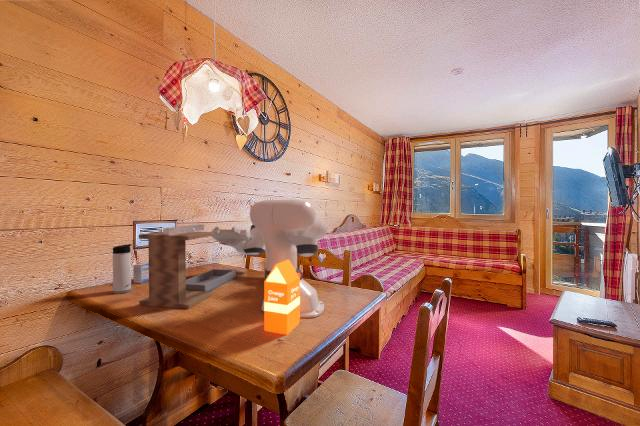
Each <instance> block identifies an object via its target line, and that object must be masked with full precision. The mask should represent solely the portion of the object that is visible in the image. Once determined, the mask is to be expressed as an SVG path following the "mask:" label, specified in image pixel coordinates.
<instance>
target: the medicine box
mask: <svg viewBox="0 0 640 426" xmlns="http://www.w3.org/2000/svg"><path fill="white" fill-rule="evenodd" d="M132 266H133V267H132V268H133V269H132V270H133V284H134V283H135V284H144V283H147V282H149V261H146V262H142V263H138V264H133V265H132Z"/></svg>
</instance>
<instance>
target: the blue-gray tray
mask: <svg viewBox="0 0 640 426" xmlns="http://www.w3.org/2000/svg"><path fill="white" fill-rule="evenodd" d="M236 278H237V270H236V269H224V268H223V269H220V268H218V269H217V268H212V269H210V270H208V271H205V272H202V273H200V274H198V275H197V274H196V275H195V276H192V277H190V278H187V279H186V290H189V291H206V292H213V291H214V290H216V289H218V288H219V287H221V286H223V285H225V284H226V283H228V282H230V281H232V280H234V279H236Z"/></svg>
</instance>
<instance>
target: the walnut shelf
mask: <svg viewBox="0 0 640 426" xmlns="http://www.w3.org/2000/svg"><path fill="white" fill-rule="evenodd" d="M206 237H207V238H208V237H212V231H193V232H186V233H179V234H172V235H163V231H157V232H150V233H148V232H147V233H142V234H141V233H140V234H138V239H139V240H143V239H144V240H148V262H149V281H148V297H146V298H144V299H141V300H139V302H138V303H139V306H143V307H144V306H145V307H157V308H159V307H160V308H171V309H183V310H185V309H186V310H190V309H192V308H193V307H194V306H197V305H198V304H200V303H202V302H204V301H205V300H207V299H208V297H209V298H211V297H212V296H213V291H210V292H206V291H189V290H186V280H187V279H186V278H187V277H186V276H187V275H186V274H187V270H186V268H187V267H186V265H187V263H186V260H187V259H186V256H187V255H186V254H187V253H186V246H187V245H186V244H187V243H186V241H191V240H196V239H201V238H206ZM201 301H202V302H201ZM196 304H197V305H196Z"/></svg>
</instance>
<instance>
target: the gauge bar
mask: <svg viewBox="0 0 640 426" xmlns="http://www.w3.org/2000/svg"><path fill="white" fill-rule="evenodd" d="M204 230H205V224H201V223H199V224H189V225H182V226H172V227H164V228H163V227H162V232H163V235H172V234H179V233H186V232H201V231H204Z"/></svg>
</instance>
